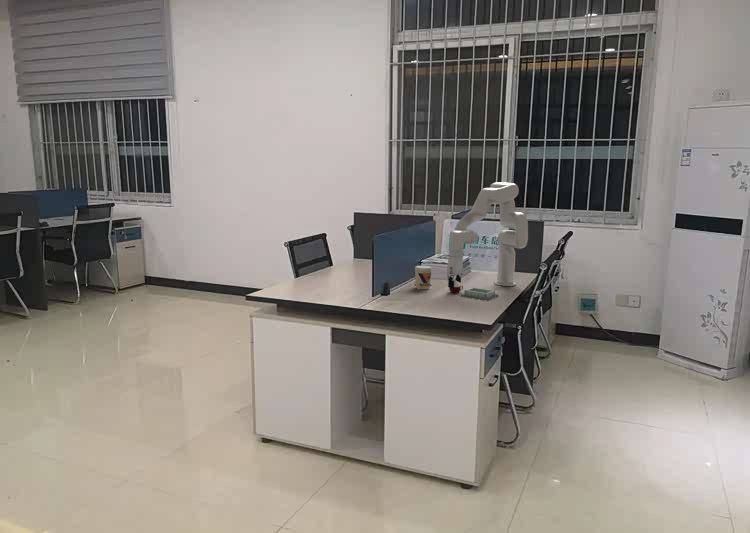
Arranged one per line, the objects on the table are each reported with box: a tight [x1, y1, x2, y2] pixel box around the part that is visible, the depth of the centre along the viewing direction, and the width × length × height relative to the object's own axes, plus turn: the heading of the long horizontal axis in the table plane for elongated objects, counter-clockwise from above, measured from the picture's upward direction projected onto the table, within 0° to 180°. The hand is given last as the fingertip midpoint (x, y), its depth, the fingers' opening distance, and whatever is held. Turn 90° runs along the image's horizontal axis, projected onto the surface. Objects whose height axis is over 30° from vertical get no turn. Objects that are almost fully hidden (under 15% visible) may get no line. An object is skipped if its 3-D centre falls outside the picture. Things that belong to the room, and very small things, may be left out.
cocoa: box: [448, 279, 464, 294], centre depth 311 cm, size 10×6×12 cm, turn 80°
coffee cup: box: [414, 265, 433, 290], centre depth 319 cm, size 9×9×12 cm
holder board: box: [460, 286, 500, 301], centre depth 303 cm, size 14×15×3 cm
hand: (454, 286), depth 311 cm, fingers open, 7 cm apart
